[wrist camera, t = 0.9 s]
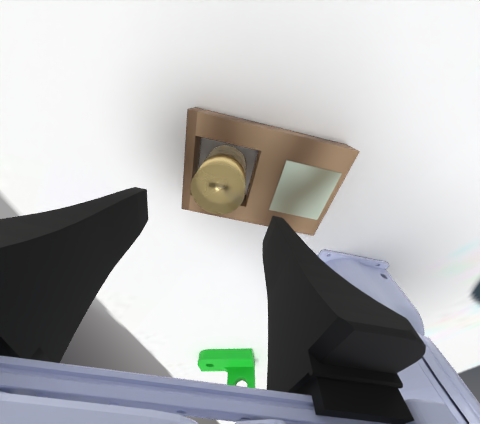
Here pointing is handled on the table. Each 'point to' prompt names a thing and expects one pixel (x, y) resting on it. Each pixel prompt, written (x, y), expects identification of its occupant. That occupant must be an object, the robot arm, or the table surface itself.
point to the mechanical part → (230, 364)
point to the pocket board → (272, 169)
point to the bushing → (220, 181)
